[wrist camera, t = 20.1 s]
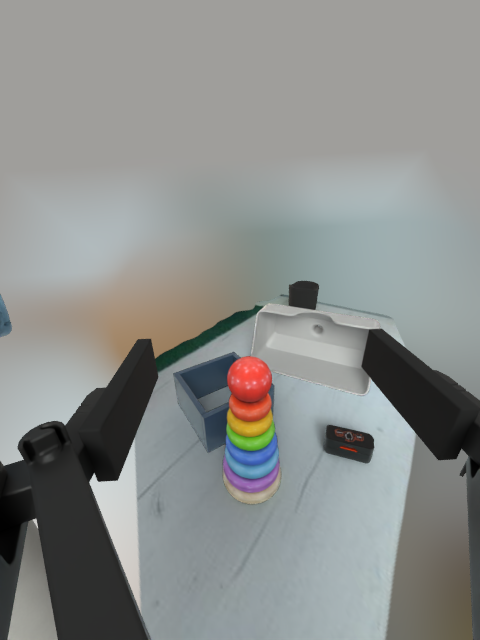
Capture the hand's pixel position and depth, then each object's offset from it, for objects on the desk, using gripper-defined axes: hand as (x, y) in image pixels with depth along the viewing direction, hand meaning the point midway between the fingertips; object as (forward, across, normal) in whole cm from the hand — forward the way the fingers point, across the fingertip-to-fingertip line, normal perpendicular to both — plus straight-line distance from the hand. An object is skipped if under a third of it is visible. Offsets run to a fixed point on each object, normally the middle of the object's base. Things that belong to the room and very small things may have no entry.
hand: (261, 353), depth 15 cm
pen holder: (+65, +22, -26) cm, 74 cm away
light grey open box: (+37, +17, -26) cm, 48 cm away
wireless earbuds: (+13, +16, -26) cm, 33 cm away
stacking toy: (+10, 0, -26) cm, 28 cm away
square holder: (+22, -4, -26) cm, 35 cm away
